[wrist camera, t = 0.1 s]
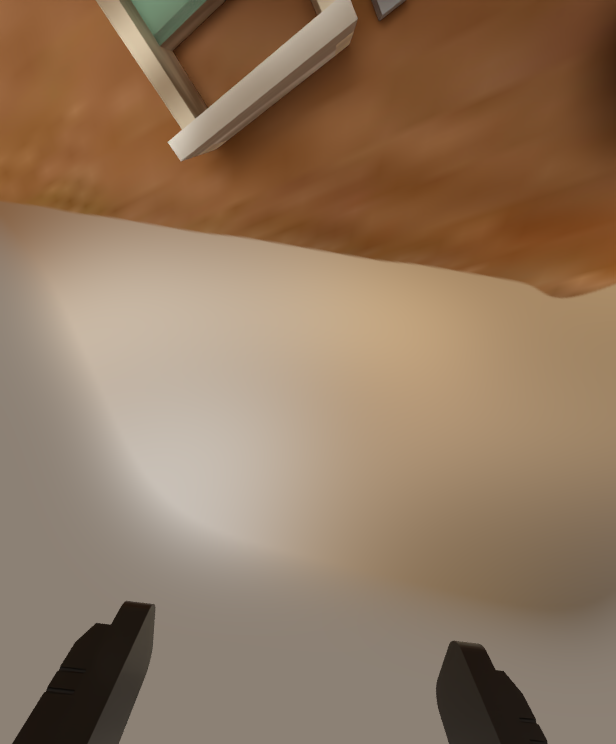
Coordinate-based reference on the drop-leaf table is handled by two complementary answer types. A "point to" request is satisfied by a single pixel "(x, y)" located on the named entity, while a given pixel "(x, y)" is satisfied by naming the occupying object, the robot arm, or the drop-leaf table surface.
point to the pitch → (249, 96)
